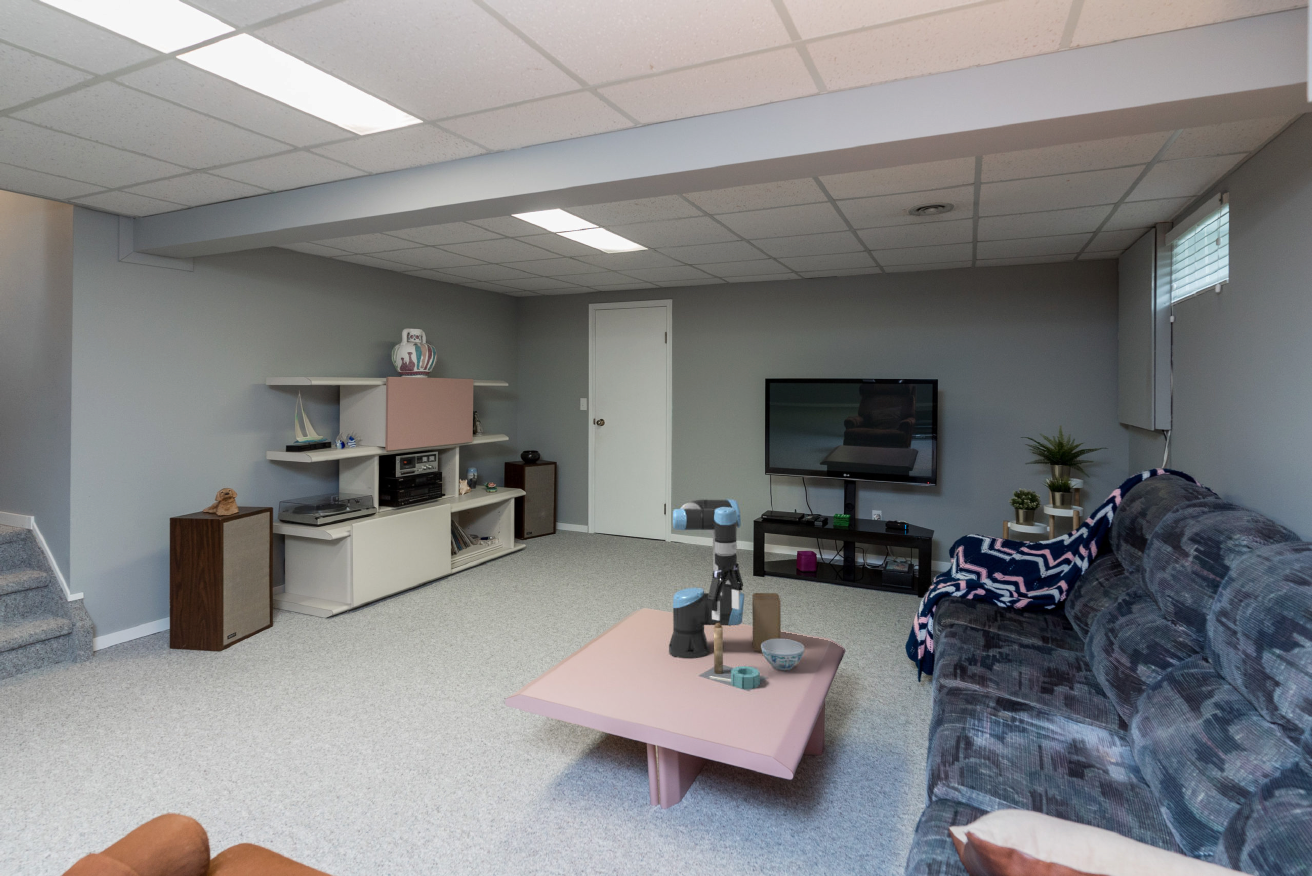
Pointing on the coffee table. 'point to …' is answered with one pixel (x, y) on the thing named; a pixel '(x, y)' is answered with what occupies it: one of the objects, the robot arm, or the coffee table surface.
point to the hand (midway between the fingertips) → (726, 613)
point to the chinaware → (782, 653)
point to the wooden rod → (718, 648)
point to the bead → (745, 677)
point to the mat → (725, 676)
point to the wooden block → (765, 618)
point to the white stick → (720, 678)
